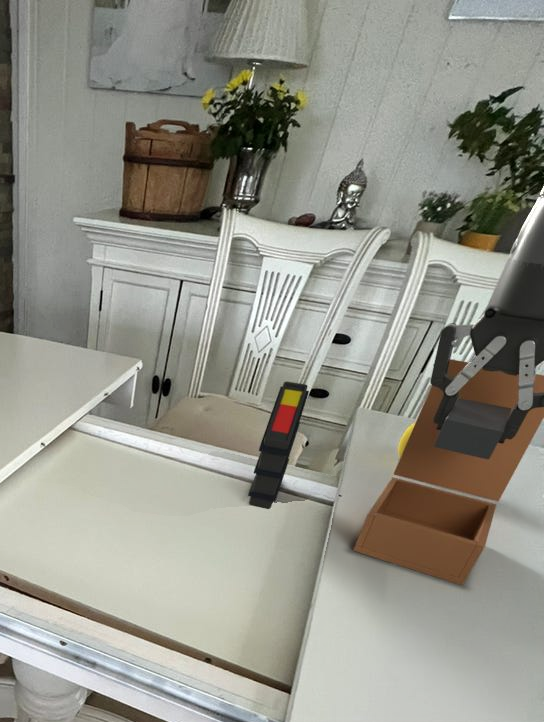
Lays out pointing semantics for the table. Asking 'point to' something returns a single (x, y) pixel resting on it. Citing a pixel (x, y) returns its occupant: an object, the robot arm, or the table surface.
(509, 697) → the table surface
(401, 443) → the lemon
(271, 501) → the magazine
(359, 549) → the brown case base
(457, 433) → the dark grey block
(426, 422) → the case cover
